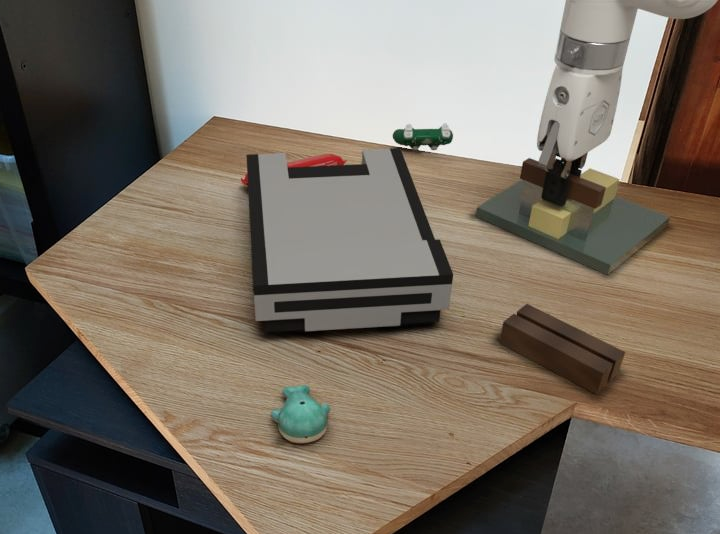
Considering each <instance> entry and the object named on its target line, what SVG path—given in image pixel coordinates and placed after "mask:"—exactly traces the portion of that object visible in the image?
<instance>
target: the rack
mask: <svg viewBox="0 0 720 534" xmlns="http://www.w3.org/2000/svg"><path fill="white" fill-rule="evenodd" d="M501 327H502V328H501V332H500V337H499V342H498V343H499V344H500V345H503V346H504V347H506V348H508V349H510V350H512V351H513V352H515V353H517V354H519V355H521V356H523V357H524V358H527V359H528V360H530V361H532V362H534V363H535V364H538V365H540V366H541V367H544V368H545V369H547V370H549V371H550V372H553V373H554V374H557V375H559V376H561V377H562V378H564V379H566V380H568V381H570V382H572V383H573V384H575V385H577V386H579V387H581V388H583V389H585V390H586V391H589V392H590V393H592V394H594V395H597V394H598V393H600V392H602V391H601V390H603V389H604V388H605V387H606V386H607V383H610V382H611V381H612V380H613V379H615V377H616V376H617V375H618V374H619V372H620V369H621V366H622V365H623V361H624V358H625V355H626V351H625V350H622V349H620V348H619V347H616V346H614V345H612V344H610V343H608V342H606V341H604V340H602V339H600V338H598V337H596V336H594V335H591V334H590V333H588V332H586V331H583V330H581V329H579V328H577V327H576V326H573V325H571V324H569V323H567V322H566V321H563V320H561V319H559V318H557V317H555V316H553V315H551V314H549V313H547V312H545V311H543V310H541V309H539V308H537V307H535V306H532V305H531V304H528V303H526V304H525V305H523V306H522V307H520V308H519V309H518V310H517V311H516V314H515V313H513V314H511V315H510V316H509V317H508V318H506V319H505V320H503V322H502V326H501Z"/></svg>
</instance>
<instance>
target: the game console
mask: <svg viewBox="0 0 720 534" xmlns="http://www.w3.org/2000/svg"><path fill="white" fill-rule="evenodd" d="M245 156H246V174H247V176H248V185H247V193H248V209H249V210H248V211H249V231H250V246H251V247H250V248H251V249H250V253H251V254H250V255H251V272H252V288H253V289H252V292H253V302H254V315H255V316H254V317H255V322H262V321H263V323H264V334H265V335H274V334H276V335H277V334H292V333H294V334H295V333H308V332H319V331H331V330H332V331H333V330H347V329H364V328H366V329H367V328H379V327H380V328H388V327H389V328H390V327H407V326H423V325H424V326H425V325H435V323H437V322H438V323H439V322H440V317H441V311H446V310H447V311H448V310H450V304H451V303H450V302H451V295H452V287H453V282H454V281H453V280H454V272H453V271H452V267H451V265H450V262H449V259H448V257H447V255H446V252H445V249H444V247H443V244H442V242H441V239H436V238H435V236H434V233H433V230H432V228H431V225H430V223H429V218H428V217H427V214H426V212H425V209H424V206H423V204H422V201H421V199H420V195H419V193H418V191H417V188H416V185H415V183H414V180H413V178H412V175H411V172H410V170H409V167H408V164H407V161H406V159H405V157H404V153H403V151H402V149H401V147H396V148H395V147H394V148H374V149H373V148H372V149H371V148H370V149H362V153H361V163H356V164H355V163H354V164H344V165H332V166H309V167H287V163H288V162H287V153H286V152H277V153H275V152H273V153H252V154H249V153H248V154H246V155H245Z"/></svg>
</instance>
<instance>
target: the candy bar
mask: <svg viewBox="0 0 720 534" xmlns="http://www.w3.org/2000/svg"><path fill="white" fill-rule="evenodd" d="M347 161H348V159H345V160H343V158H342V157H341V156H340V155H336V154H335V153H325V154H319V155H314V156H310V157H306V158H301V159H297V160H293V161H288V162H287V167H309V166H332V165H345V164H346V163H347ZM240 181H241V183H242V185H246V186H248V176H247V173H245V175H244V178H243V177H240Z"/></svg>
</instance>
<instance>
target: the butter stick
mask: <svg viewBox="0 0 720 534" xmlns="http://www.w3.org/2000/svg"><path fill="white" fill-rule="evenodd" d="M580 178H583V179H586V180H588V181H591V182H594V183H596V184H599V185H601V186H604V187H606V189H605V193H604V197H603V201H602V204H601V205H600V206H599V207H597V208H596V209H594V212H593V214H594V213H595V212H596V211H598V210H599V209H601V208H602V207H603V206H605V205H606V204H608V203H609V202H610V201H612V200H613V199H614V197H615V196H616V193H617V190H618V186H619V183H620V178H617V177H614V176H612V175H610V174H607V173H604V172H601V171H598V170H596V169H593V168H588V169H586V170H585V171H583V172H581V176H580Z"/></svg>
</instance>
